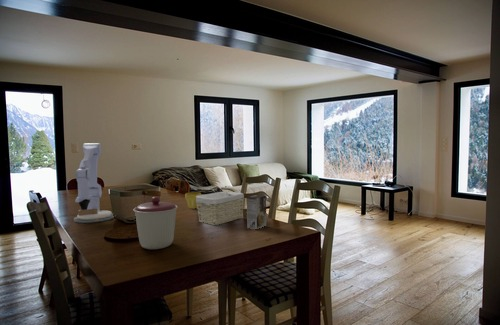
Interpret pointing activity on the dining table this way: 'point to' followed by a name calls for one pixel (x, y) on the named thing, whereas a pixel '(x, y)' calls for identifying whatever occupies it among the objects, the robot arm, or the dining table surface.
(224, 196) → the storage basket
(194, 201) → the plant pot
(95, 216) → the dial
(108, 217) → the base
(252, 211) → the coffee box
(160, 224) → the canister
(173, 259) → the dining table surface
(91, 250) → the dining table surface
